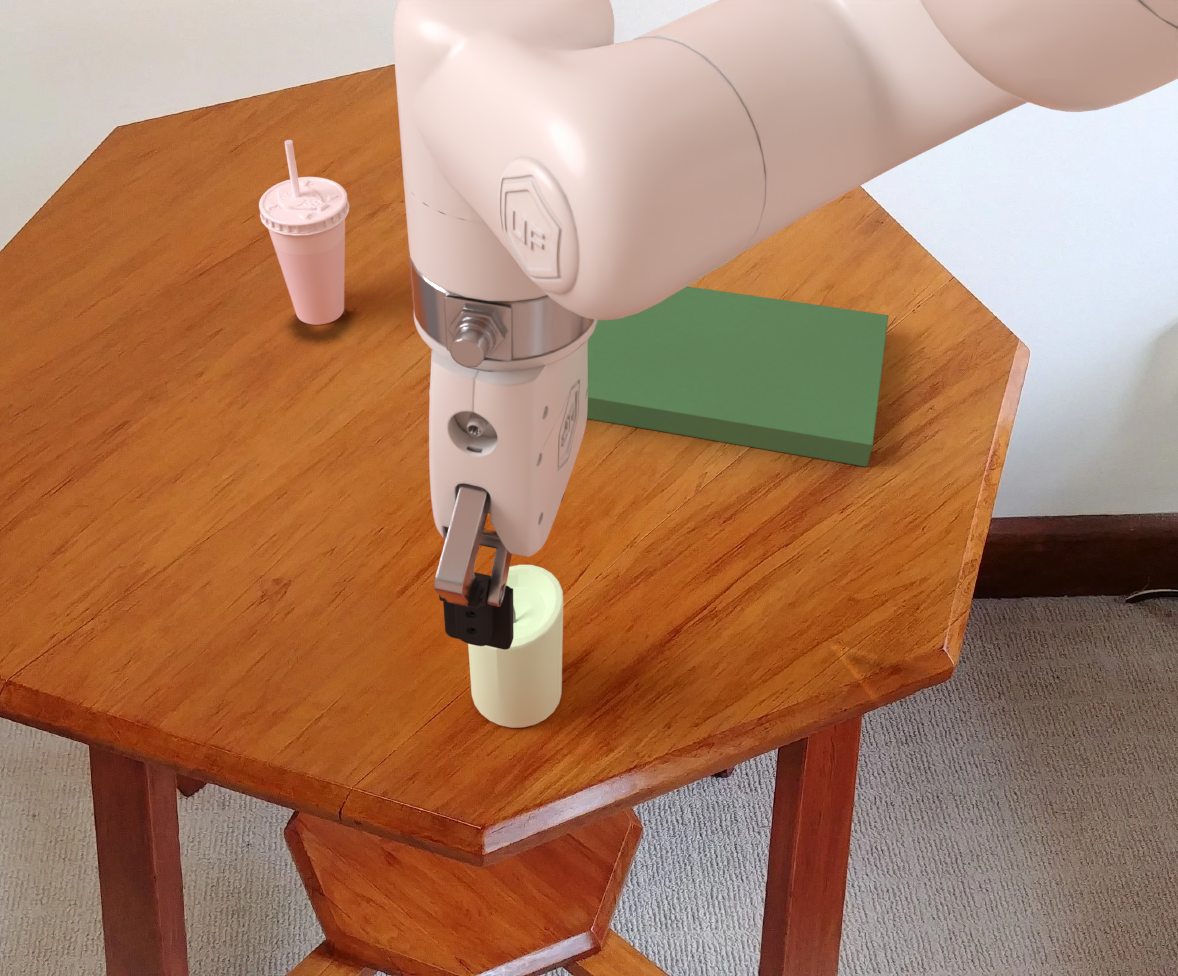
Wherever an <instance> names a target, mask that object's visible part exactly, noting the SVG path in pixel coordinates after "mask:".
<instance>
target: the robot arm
mask: <svg viewBox="0 0 1178 976" xmlns="http://www.w3.org/2000/svg"><path fill="white" fill-rule="evenodd" d="M611 3H612V2H611V0H398V1H397V5H396V8H395V10H394V14H393V15H394V16H393V22H392V23H393V26H392V27H393V28H392V39H393V40H392V41H393V42H392V43H393V44H392V45H393V57H394V58H393V59H394V71H395V83H396V84H395V85H396V86H395V87H396V96H397V97H396V98H397V99H396V101H397V111H398V123H399V124H398V125H399V139H400V140H399V141H400V152H401V164H402V165H401V167H402V178H403V189H404V190H403V191H404V202H405V203H404V204H405V214H406V215H405V216H406V228H407V239H408V240H407V241H408V259H409V272H410V273H409V274H410V285H411V299H412V308H413V309H412V310H413V321H414V325H415V328H416V331H417V333H418V334H419V337H420V338H421V340H422V341H423V342H424V343H425V344H426V345H427V346H428V347H429V348H430V349H431V354H430V355H431V356H430V374H429V375H430V377H429V390H428V395H429V400H428V401H429V403H428V404H429V408H428V409H429V410H428V451H429V452H428V461H429V463H428V464H429V466H428V467H429V485H430V487H429V488H430V501H431V509H432V515H433V516H432V517H433V521H434V525H435V527H436V530H437V531H438V533H439V534H440V536H441V537H442V538H443V539H444V544H443V547H442V550H441V554H440V559H439V562H438V565H437V569H436V574H435V577H434V583H433V584H434V585H433V586H434V588H433V589H434V591H435V592H436V593H437V594H438V599H439V601H441V602H442V604H443V620H444V631H445V634H446V635H447V636H448V637H450V638H453V639H458V640H460V641H462V642H463V643H466V644H467V645H468V644H472V645H476V646H485V645H486V646H490V647H495V648H499V649H504V650H506V649H509V648H510V647H511V644H512V641H513V588H510V587H509V586H507V585H506V584H507V578H508V573H509V567H511V561H512V556H513V555H517V556H522V557H528V558H529V557H532V556H534V555H536V554H537V553H538V552H539V551H540V550H541V549H542V548H543V547H544V545H546V542H547V540H548V538H549V536H550V533H551V530H552V528H553V525H554V523H555V519H556V517H557V514H558V511H559V508H560V506H561V504H562V502H563V500H564V497H565V494H566V489H567V486H568V484H569V481H570V478H571V476H572V472H573V470H574V466H575V463H576V461H577V458H578V455H579V452H580V448H581V445H582V442H583V439H584V436H585V432H586V426H587V422H588V421H587V420H588V419H587V410H588V339H589V337H590V336H591V335H592V333H593V332H594V330H595V327H596V324H597V320H614V319H620V318H624V317H627V316H630V315H634V314H637V313H640V312H642V311H644V310H646V309H648V308H650V307H652V306H654V305H656V304H658V303H660V302H662V301H663V300H665V299H666V298H668V297H670V296H671V295H673V294H675V293H677V292H678V291H680V290H682V289H684V288H685V287H687V286H689V287H690V286H691V285H692V284H694V283H696V282H698V281H699V280H701V279H703V278H704V277H707V276H708V275H710V274H712V273H713V272H715V271H716V270H718V269H720V268H721V267H723V266H725V265H727V264H729V263H731V262H732V261H733V260H735V259H736V257H738V256H740V255H742V254H744V253H746V252H747V251H748V250H750V249H752V248H754V247H755V246H757V245H759V244H760V243H763V242H764V241H766V240H767V239H769V238H771V237H773V236H774V235H776V234H777V233H779V232H781V231H782V230H784V229H786V228H788V227H790V226H791V225H793V224H795V223H796V222H798V221H800V220H802V219H803V218H806V217H807V216H809V215H811V214H813V213H814V212H816V211H818V210H820V209H822V208H824V207H825V206H827V205H828V204H831V203H833V202H834V201H836V200H838V199H840V198H841V197H843V196H845V195H847V194H848V193H850V192H852V191H854V190H855V189H858V188H859V187H862V186H863V185H865V184H866V183H868V182H870V181H872V180H874V179H875V178H877V177H879V176H881V175H883V174H885V173H887V172H889V171H890V170H892V169H894V168H897V167H898V166H900V165H902V164H904V163H907V162H908V161H910V160H912V159H914V158H916V157H918V156H920V155H922V154H924V153H926V152H928V151H930V150H932V149H934V148H936V147H938V146H939V145H942V144H944V143H946V142H948V141H950V140H952V139H954V138H956V137H959V136H960V135H962V134H965V133H966V132H968V131H970V130H972V129H974V128H977V127H978V126H981V125H983V124H984V123H986V122H988V121H991V120H993V119H995V118H997V117H999V116H1002V115H1003V114H1005V113H1008V112H1010V111H1013V110H1014V109H1017V108H1019V107H1021V106H1023V105H1025V104H1028V103H1030V104H1033V105H1036V106H1039V107H1042V108H1045V109H1048V110H1052V111H1053V110H1054V111H1059V112H1065V113H1083V112H1092V111H1099V110H1103V109H1107V108H1111V107H1115V106H1117V105H1120V104H1123V103H1126V102H1129V101H1132V100H1134V99H1137V98H1139V97H1140V96H1143V95H1146V94H1147V93H1150V92H1152V91H1155V90H1157V89H1159V88H1161V87H1163V86H1166V85H1167V84H1169V83H1172V82H1174V81H1176V80H1178V0H717V1H715V2H713V3H709V4H708V5H705V6H703V7H700V8H699V9H696V10H694V11H692V12H690V13H688V14H685V15H683V16H681V17H679V18H677V19H674V20H672V21H669V22H668V23H665V24H663V25H662V26H659V27H656V28H655V29H652V30H651V31H648V32H646V33H643V34H641V35H638V36H637V37H634V38H632V39H631V40H625V41H622V42H617V43H615V16H614V11H613V7H612V4H611ZM489 514H490V524H491V525H492V527H493V529H494V530H493V529H488V528H485V526H486V523H487V519H488V515H489ZM480 546H482V547H487V548H492V549H495V553H494V558H493V564H492V569H491V575H489V574H484V573H479V572H476V571H475V565H476V561H477V557H478V553H479V550H480Z"/></svg>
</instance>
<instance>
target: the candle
mask: <svg viewBox="0 0 1178 976" xmlns="http://www.w3.org/2000/svg"><path fill="white" fill-rule="evenodd" d="M506 585H507V586H509V587H510V588H513V641H512V644H511V647H510V648H509V649H506V650H504V649H499V648H495V647H490V646H486V645H485V646H476V645H472V644H468V643H467V647H468V648H467V649H468V659H469V675H470V676H469V677H470V690H471V698H472V701H473V704H474V706H475V708H476V709H477V710H478V712H479V713H480V714H481V715H482V716H483V717H484V718H485V719H487V720H488V721H490V722H492V723H494V724H496V725H498V726H501V727H507V728H510V729H511V728H513V729H515V728H526V727H530V726H535V725H538V724H540V723H541V722H543V721H545V720H546V719H547V718H549V717H550V716H551V715H552V714H553V713H554V712H555V711H556V709H557V708H558V706H559V704H560V701H561V698H562V694H563V693H562V690H563V689H562V688H563V687H562V686H563V638H564V637H563V635H564V591H563V588H562V585H561V583H560V581H559V580H558V579H557V577H556V576H555V575H554V574H553V573H552V572H550V571H549V570H547V569H545V568H544V567H540V566H537V565H534V564H517V565H510V567H509V573H508V578H507V584H506Z"/></svg>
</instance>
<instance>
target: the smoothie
mask: <svg viewBox="0 0 1178 976" xmlns="http://www.w3.org/2000/svg"><path fill="white" fill-rule="evenodd" d="M283 143H284V149H285V155H286V156H285V157H286V162H287V167H288V173H289V179H287V180H284V181H281V182H279V183H276V184H275V185H273V186H271V187H270V188H268V189H267V190H265V192H264V193H263V194H262V196H260V199H259V202H258V210H259V218H260V220H261V223H262V224H263V225H264V226H265V227H266V228H267V229H268V234H269V236H270V239H271V243H272V244H273V248H274V251H275V254H276V257H277V260H278V263H279V266H280V269H281V272H282V275H283V279H284V281H285V284H286V287H287V291H288V294H289V297H290V299H291V303H292V306H293V309H294V312H295V315H296V317H297V318H298V320H299V321H301V322H303V323H305V324H308V325H312V326H313V325H317V326H319V325H320V326H321V325H326V324H330V323H332V322H334V321H336V320H338V319H339V318H341V316H342V315H343V314H344V311H345V276H346V275H345V271H346V269H345V268H346V266H345V264H346V261H345V260H346V259H345V258H346V257H345V256H346V218H347V216H348V215H349V213H350V202H349V200H348V193H347V191H346V189H345V188H344V187H343V186H342V185H341V184H339V183H338V182H336V181H334V180H332V179H329V178H325V177H319V176H318V177H317V176H302V177H301V176H300V177H299V175H298V169H297V162H296V155H295V148H294V142H293V140H292V139H285V141H284V142H283Z"/></svg>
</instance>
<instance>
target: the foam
mask: <svg viewBox="0 0 1178 976" xmlns="http://www.w3.org/2000/svg"><path fill="white" fill-rule="evenodd" d="M888 323H889V315H888V314H884V313H877V312H869V311H864V310H857V309H848V308H841V307H835V306H827V305H821V304H815V303H807V302H800V301H794V300H788V299H787V300H786V299H779V298H772V297H765V296H759V295H751V294H744V293H737V292H731V291H722V290H715V289H709V288H703V287H696V286H695V287H694V286H690V285H689V286H687V287H685V288H684V289H682V290H680V291H678V292H677V293H675V294H673V295H671V296H670V297H668V298H666V299H665V300H663V301H662V302H660V303H658V304H656V305H654V306H652V307H650V308H648V309H646V310H644V311H642V312H640V313H637V314H634V315H630V316H627V317H624V318H620V319H614V320H597V324H596V327H595V330H594V332H593V333H592V335H591V336H590V337H589V339H588V410H587V420H593V421H598V422H603V423H611V424H616V425H620V426H621V425H622V426H627V427H633V428H640V429H644V430H645V429H646V430H651V431H655V432H661V433H669V434H673V435H679V436H685V437H691V438H697V439H703V440H709V441H714V442H720V443H727V444H732V445H737V446H743V447H749V448H753V449H760V450H766V451H772V452H778V453H783V454H788V455H789V454H790V455H795V456H800V457H807V458H813V459H818V460H825V461H830V462H834V463H842V464H846V465H847V464H848V465H853V466H859V467H865V468H867V467H868V466H869V462H870V458H871V454H872V450H873V447H874V441H875V440H874V439H875V430H876V423H877V415H878V406H879V397H880V388H881V380H882V374H883V373H882V372H883V364H884V357H885V348H886V342H887V341H886V339H887V333H888V331H887V330H888Z"/></svg>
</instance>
